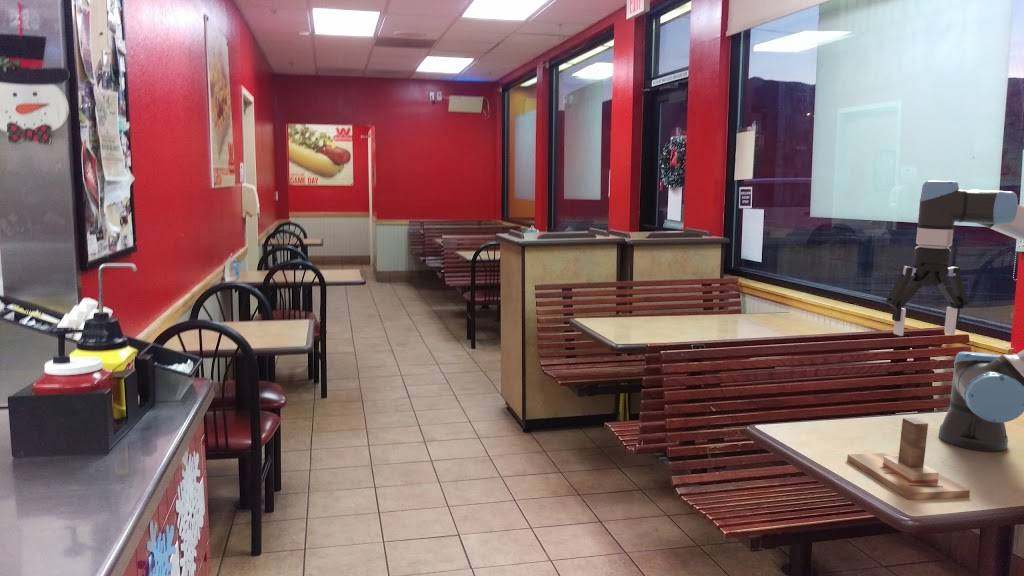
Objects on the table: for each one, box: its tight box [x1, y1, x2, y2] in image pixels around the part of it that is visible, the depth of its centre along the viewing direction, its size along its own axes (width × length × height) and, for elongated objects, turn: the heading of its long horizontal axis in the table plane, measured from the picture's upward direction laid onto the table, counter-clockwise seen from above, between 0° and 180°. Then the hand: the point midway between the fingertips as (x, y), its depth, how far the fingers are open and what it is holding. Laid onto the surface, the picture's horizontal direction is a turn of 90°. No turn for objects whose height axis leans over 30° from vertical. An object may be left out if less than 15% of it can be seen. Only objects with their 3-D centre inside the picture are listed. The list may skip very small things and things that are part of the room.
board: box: [846, 452, 971, 501], centre depth 171 cm, size 14×22×2 cm, turn 9°
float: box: [883, 417, 940, 483], centre depth 169 cm, size 6×10×12 cm, turn 9°
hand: (923, 334), depth 186 cm, fingers open, 13 cm apart
